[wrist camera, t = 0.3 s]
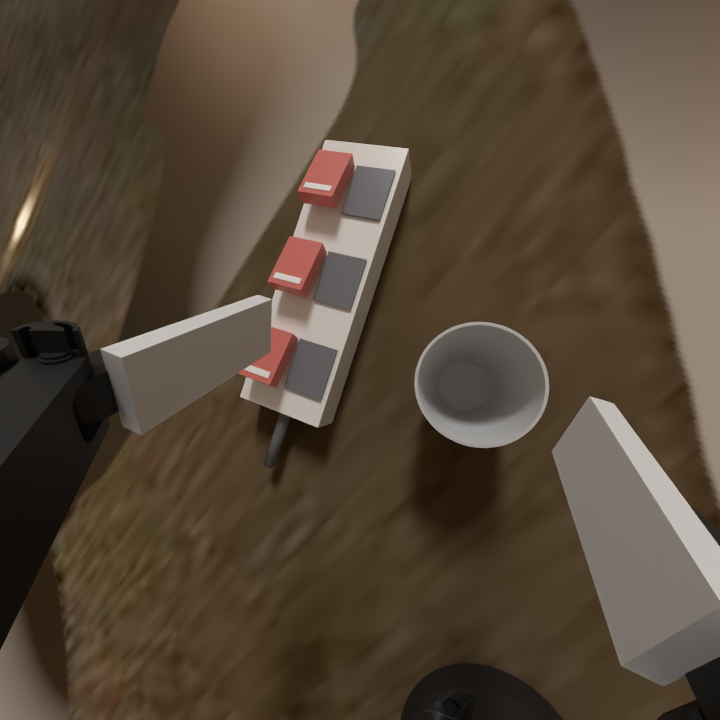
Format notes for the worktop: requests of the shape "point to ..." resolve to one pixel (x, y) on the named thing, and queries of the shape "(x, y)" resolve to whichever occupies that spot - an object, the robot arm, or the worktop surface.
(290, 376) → the power strip
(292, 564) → the worktop surface
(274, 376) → the rocker
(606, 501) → the robot arm
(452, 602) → the worktop surface
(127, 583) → the worktop surface
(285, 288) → the plate
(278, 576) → the worktop surface
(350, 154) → the block
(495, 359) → the cup
